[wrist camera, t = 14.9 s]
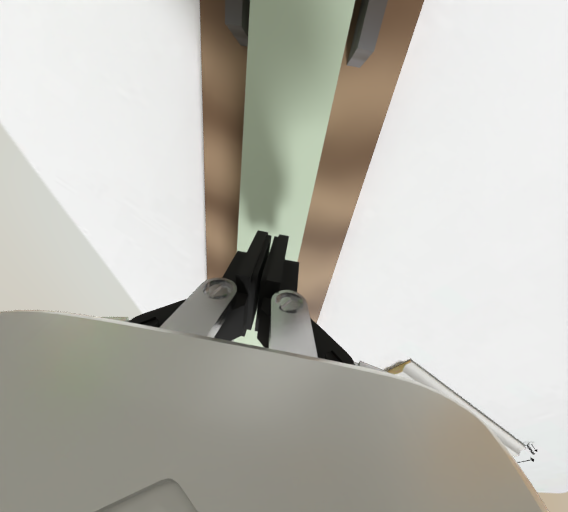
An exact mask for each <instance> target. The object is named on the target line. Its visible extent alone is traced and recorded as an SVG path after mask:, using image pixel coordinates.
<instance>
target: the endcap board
mask: <svg viewBox="0 0 568 512" xmlns="http://www.w3.org/2000/svg"><path fill="white" fill-rule="evenodd" d="M423 2H424V0H355V4H354V9H353V13H352V18H351V22H350V27H349V31H348V36H347V40H346V45H345V49H344V54H343V58H342V63H341V67H340V72H339V76H338V81H337V85H336V90H335V94H334V99H333V103H332V108H331V112H330V117H329V121H328V126H327V130H326V135H325V139H324V144H323V148H322V153H321V157H320V162H319V167H318V171H317V176H316V180H315V185H314V189H313V194H312V198H311V203H310V207H309V212H308V216H307V221H306V225H305V230H304V234H303V239H302V243H301V248H300V252H299V257H298V261H297V262H299V273H298V287H297V293H299V294H301V295H302V296H303V297H304V298H305V299H306V302H307V304H308V309H309V315H310V318H311V319H312V320H313V321H314V322H315V323H317V320H318V317H319V314H320V311H321V308H322V305H323V302H324V299H325V296H326V293H327V290H328V287H329V284H330V281H331V278H332V275H333V272H334V269H335V266H336V263H337V260H338V257H339V254H340V251H341V248H342V245H343V242H344V239H345V236H346V233H347V230H348V227H349V224H350V221H351V218H352V215H353V212H354V209H355V206H356V203H357V200H358V197H359V194H360V191H361V188H362V185H363V182H364V179H365V176H366V173H367V170H368V167H369V164H370V161H371V158H372V155H373V152H374V149H375V146H376V143H377V140H378V137H379V134H380V131H381V128H382V125H383V122H384V119H385V116H386V113H387V110H388V107H389V104H390V101H391V98H392V95H393V92H394V89H395V86H396V83H397V80H398V77H399V74H400V71H401V68H402V65H403V62H404V59H405V56H406V53H407V50H408V47H409V44H410V41H411V38H412V35H413V32H414V29H415V26H416V23H417V20H418V17H419V14H420V11H421V8H422V5H423ZM249 11H250V0H200V22H201V60H202V98H203V136H204V174H205V212H206V250H207V280H209V279H211V278H222V277H223V275H224V274H225V272H226V270H227V268H228V267H229V265H230V263H231V261H232V260H233V258H234V256H235V254H236V253H237V239H238V220H239V201H240V182H241V163H242V144H243V125H244V106H245V87H246V68H247V49H248V30H249Z"/></svg>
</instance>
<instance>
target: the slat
mask: <svg viewBox="0 0 568 512" xmlns="http://www.w3.org/2000/svg"><path fill="white" fill-rule="evenodd" d="M354 4H355V0H250V11H249V30H248V49H247V68H246V87H245V106H244V125H243V144H242V163H241V182H240V201H239V220H238V239H237V251H242V252H247V251H248V249H249V247H250V245H251V243H252V241H253V239H254V237H255V235H256V233H257V231H258V230H259V231H265V232H268V235H271V244H270V249H271V246H272V243H273V240H274V236H277V237H278V236H279V234H281V235H286V236H289V239H288V245H287V250H286V256H285V260H290V261H296V262H297V261H298V257H299V252H300V248H301V243H302V239H303V234H304V230H305V225H306V221H307V216H308V212H309V207H310V203H311V198H312V194H313V189H314V185H315V180H316V176H317V171H318V167H319V162H320V157H321V153H322V148H323V144H324V139H325V135H326V130H327V126H328V121H329V117H330V112H331V108H332V103H333V99H334V94H335V90H336V85H337V81H338V76H339V72H340V67H341V63H342V58H343V54H344V49H345V45H346V40H347V36H348V31H349V27H350V22H351V18H352V13H353V9H354ZM269 252H270V251H269ZM256 314H257V311H256ZM255 322H256V315H255V318H254V322H253V325H252V329H251V330H247V331H246V334H245V337H243V336H240V337H238V338H236V339H234V342H238V343H244V344H249V345H254V346H259V347H263V346H262V344H261V343H260V342H259V340H258V339H257V333H258V332H257V331H255Z"/></svg>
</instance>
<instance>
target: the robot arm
mask: <svg viewBox="0 0 568 512" xmlns="http://www.w3.org/2000/svg"><path fill="white" fill-rule="evenodd" d="M288 239H289V236H286V235H281V234H279V236H278V237H277V236H274V240H273V243H272V246H271V249H270V244H271V235H268V232H265V231H259V230H258V231H257V233H256V235H255V237H254V239H253V241H252V243H251V245H250V247H249V249H248V251H247V252H242V251H237V253H236V254H235V256H234V258H233V260H232V261H231V263H230V265H229V267H228V268H227V270H226V272H225V274H224V275H223V277H222V278H211V279H209V280H206V281H205V282H203V283H202V284H201V285H200V286H199V287H198V288H197V289H196V290H195V291H194V292H193V293H192V294H191V295H190V296H189V297H188V298H187V299H185V300H182V301H179V302H176V303H173V304H171V305H168V306H165V307H162V308H159V309H156V310H153V311H150V312H147V313H144V314H141V315H139V316H137V317H135V318H133V319H132V320H129V319H128V317H95V316H88V315H81V314H75V313H67V312H59V311H44V310H14V311H4V312H0V512H549V510H548V509H547V507H546V505H545V504H544V502H543V501H542V500H541V498H540V496H539V495H538V493H537V492H536V490H535V489H534V487H533V486H532V484H531V482H530V481H529V479H528V478H527V477H526V475H525V474H524V472H523V471H522V469H521V468H520V466H519V465H518V464H517V462H516V461H515V459H514V458H513V456H512V455H511V453H510V452H509V451H508V449H507V448H506V447H505V445H504V444H503V443H502V441H501V440H500V439H499V438H498V436H497V435H496V434H495V433H494V432H493V430H492V429H491V428H490V427H489V426H488V425H487V424H486V423H485V422H484V421H483V420H482V419H481V418H480V417H478V416H477V415H476V414H475V413H474V412H472V411H471V410H470V409H468V408H467V407H465V406H464V405H462V404H461V403H459V402H458V401H456V400H454V399H453V398H451V397H449V396H447V395H445V394H443V393H441V392H439V391H438V390H436V389H433V388H431V387H429V386H426V385H424V384H421V383H419V382H417V381H414V380H411V379H408V378H405V377H402V376H399V375H395V374H392V373H389V372H387V371H384V370H382V369H379V368H377V367H374V366H372V365H369V364H367V363H364V362H362V361H360V362H359V363H356V362H354V361H353V360H352V358H351V357H350V356H349V354H348V353H347V352H346V351H345V350H344V349H343V348H342V347H340V346H339V345H338V344H337V343H336V342H335V341H334V340H333V339H332V338H331V337H330V336H329V335H328V334H327V333H326V332H325V331H324V330H323V329H322V328H321V327H320V326H318V325H317V324H316V323H315V322H314V321H313V320H312V319H311V318H310V315H309V309H308V304H307V302H306V299H305V298H304V297H303V296H302V295H301V294H299V293H297V287H298V273H299V262H296V261H290V260H285V256H286V250H287V245H288ZM269 251H270V252H269ZM256 311H257V314H256ZM255 315H256V322H255V331H257V332H258V333H257V339H258V340H259V342H260V343H261V344H262V346H263V347H259V346H254V345H249V344H244V343H238V342H234V339H236V338H238V337H240V336H243V337H245V334H246V331H247V330H251V329H252V325H253V322H254V318H255Z"/></svg>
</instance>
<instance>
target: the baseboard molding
mask: <svg viewBox="0 0 568 512" xmlns="http://www.w3.org/2000/svg"><path fill="white" fill-rule="evenodd" d="M387 372H389V373H392V374H395V375H399V376H402V377H405V378H408V379H411V380H414V381H417V382H419V383H421V384H424V385H426V386H429V387H431V388H433V389H436V390H438V391H439V392H441V393H443V394H445V395H447V396H449V397H451V398H453V399H454V400H456V401H458V402H459V403H461V404H462V405H464V406H465V407H467V408H468V409H470V410H471V411H472V412H474V413H475V414H476V415H477V416H478V417H480V418H481V419H482V420H483V421H484V422H485V423H486V424H487V425H488V426H489V427H490V428H491V429H492V430H493V432H494V433H495V434H496V435H497V436H498V438H499V439H500V440H501V441H502V443H503V444H504V445H505V447H506V448H507V449H508V451H509V452H510V453H511V455H512V456H514V457H515V456H519V454H520V451H521V450H523V449H526V447H525V446H524V445H523V444H521V443H520V442H519V441H517V440H516V439H515V438H513V437H512V436H511V435H509V434H508V433H507V432H505V431H504V430H503V429H501V428H500V427H499V426H497V425H496V424H495V423H493V422H492V421H491V420H489V419H488V418H487V417H486V416H484V415H483V414H482V413H480V412H479V411H478V410H476V409H475V408H474V407H472V406H471V405H470V404H468V403H467V402H466V401H464V400H463V399H462V398H460V397H459V396H458V395H456V394H455V393H454V392H452V391H451V390H450V389H448V388H447V387H446V386H444V385H443V384H442V383H440V382H439V381H438V380H436V379H435V378H434V377H432V376H431V375H430V374H428V373H427V372H426V371H424V370H423V369H422V368H420V367H419V366H418V365H416V364H415V363H414V362H412V361H411V360H409V361H407V362H405V363H403V364H401V365H399V366H397V367H395V368H393V369H391V370H389V371H387ZM531 445H532V444H531ZM532 446H533V445H532ZM527 447H530V446H528V445H527ZM534 449H535V448H534ZM529 450H531V451H532V449H530V448H529ZM535 451H537V450H535ZM531 453H532V454H535V453H534V452H531ZM530 458H531V457H530ZM531 459H532V458H531ZM527 461H530V460H527ZM532 461H533V462H534V459H532ZM522 462H525V461H522ZM517 463H520V462H517Z"/></svg>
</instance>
